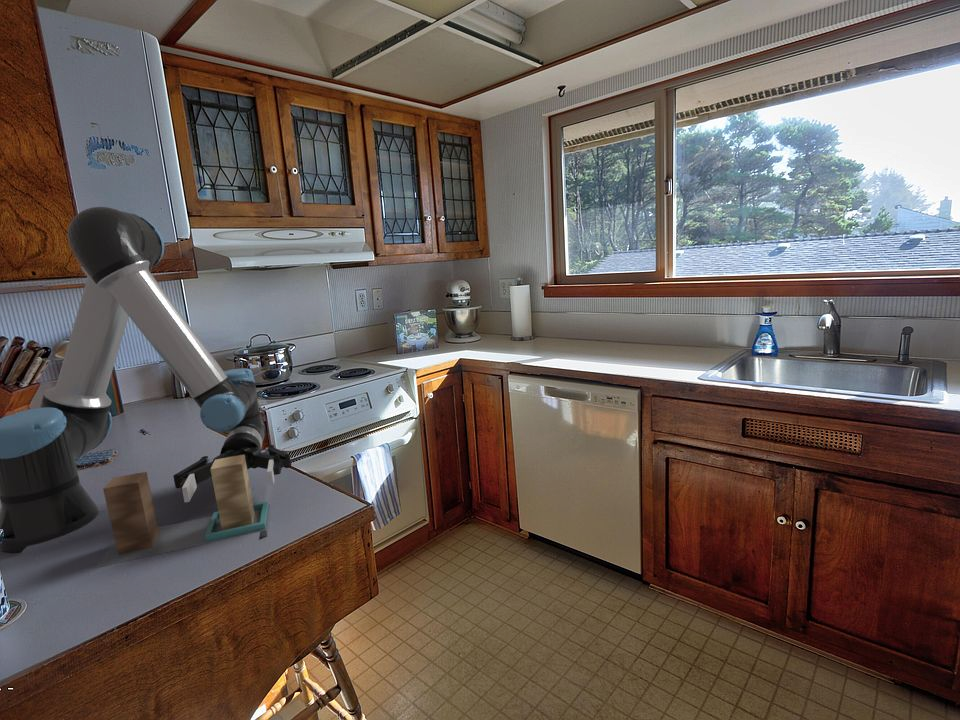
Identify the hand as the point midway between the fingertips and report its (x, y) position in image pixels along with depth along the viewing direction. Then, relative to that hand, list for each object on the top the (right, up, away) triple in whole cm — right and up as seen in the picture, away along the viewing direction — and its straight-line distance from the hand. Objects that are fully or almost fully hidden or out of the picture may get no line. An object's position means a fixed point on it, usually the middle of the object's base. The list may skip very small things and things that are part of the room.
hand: (229, 486), depth 89 cm
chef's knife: (-60, -2, +68) cm, 91 cm away
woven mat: (-61, -6, +49) cm, 79 cm away
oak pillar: (0, -8, +5) cm, 9 cm away
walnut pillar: (-15, -10, 0) cm, 18 cm away
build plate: (-8, -10, +2) cm, 13 cm away
